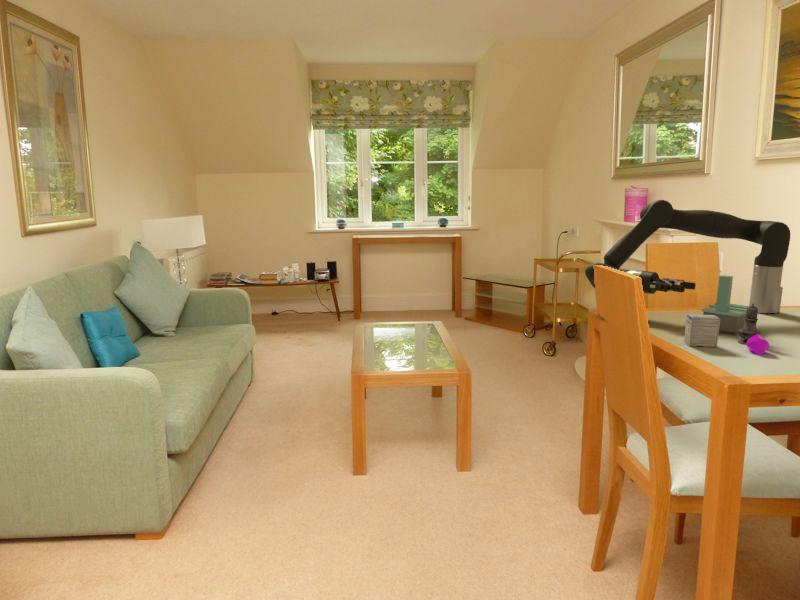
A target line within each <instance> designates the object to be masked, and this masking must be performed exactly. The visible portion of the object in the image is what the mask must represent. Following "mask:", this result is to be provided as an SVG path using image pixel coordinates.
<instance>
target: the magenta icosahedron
mask: <svg viewBox="0 0 800 600" xmlns="http://www.w3.org/2000/svg"><path fill="white" fill-rule="evenodd" d="M745 346H746V347H747V349H748V351H751V352H752V353H754V354H756V355H758V356H761V355H762V354H764V353H765V352H767V351H768V349H770V348H771V345H770V343H769V341H768V340H766V338H765V337H762V336H761V334H760V335H758V334H757V335H755V336H753V337H751V338H749V339H748V341H747V344H746V345H745Z"/></svg>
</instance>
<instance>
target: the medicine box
mask: <svg viewBox="0 0 800 600" xmlns="http://www.w3.org/2000/svg"><path fill="white" fill-rule="evenodd" d="M719 326H720V319H719V318H718V317H716V316H714V315H703V314H686V318H685V328H684V339H683V343H684V342H685V343H686V344H687V345H686V344H685V343H684V344H685V345H686V346H688V345H689V346H688V347H697V346H703V347H705V348H717V347H718V342H719V341H718V340H719V334H720V333H719ZM703 347H702V348H703Z"/></svg>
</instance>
